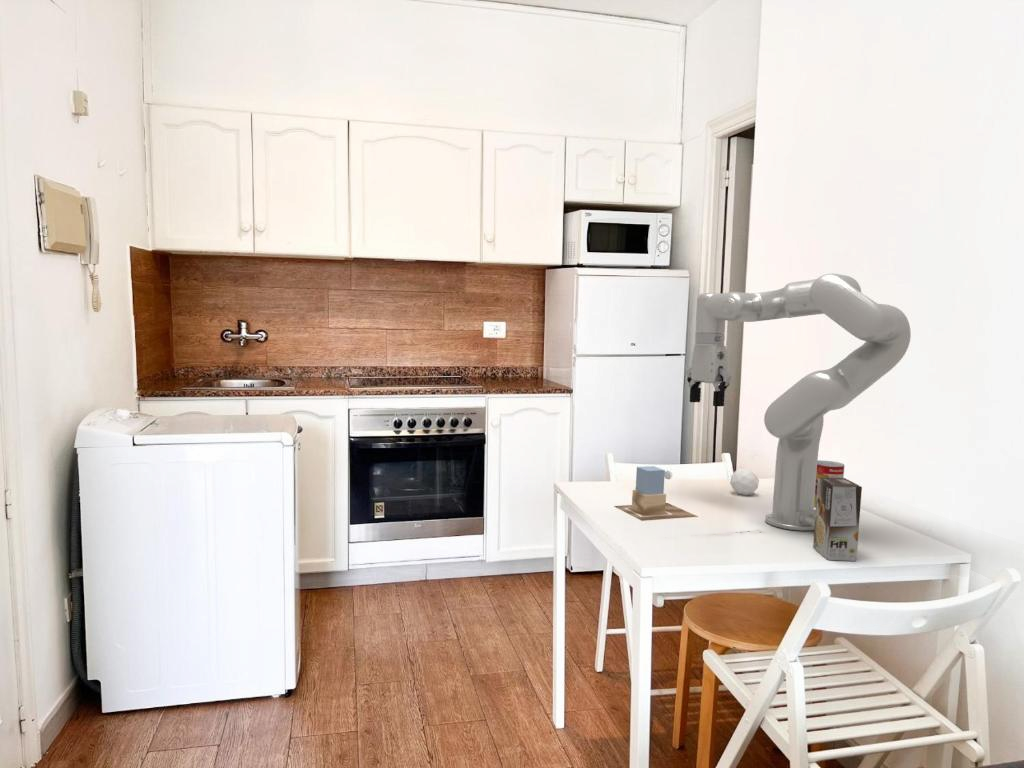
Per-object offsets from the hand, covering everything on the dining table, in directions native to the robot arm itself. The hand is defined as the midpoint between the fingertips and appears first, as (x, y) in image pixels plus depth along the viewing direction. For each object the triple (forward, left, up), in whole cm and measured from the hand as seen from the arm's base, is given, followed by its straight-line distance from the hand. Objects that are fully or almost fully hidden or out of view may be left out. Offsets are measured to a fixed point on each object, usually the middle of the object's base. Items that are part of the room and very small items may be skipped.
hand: (706, 404), depth 201 cm
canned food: (-10, -34, -28) cm, 45 cm away
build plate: (-8, +19, -27) cm, 34 cm away
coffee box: (-45, -3, -28) cm, 53 cm away
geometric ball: (+7, -20, -28) cm, 35 cm away
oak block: (-8, +21, -26) cm, 34 cm away
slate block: (-8, +21, -21) cm, 31 cm away
